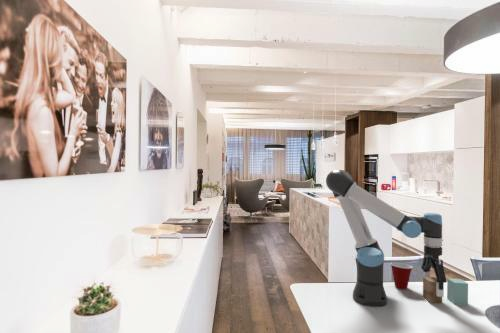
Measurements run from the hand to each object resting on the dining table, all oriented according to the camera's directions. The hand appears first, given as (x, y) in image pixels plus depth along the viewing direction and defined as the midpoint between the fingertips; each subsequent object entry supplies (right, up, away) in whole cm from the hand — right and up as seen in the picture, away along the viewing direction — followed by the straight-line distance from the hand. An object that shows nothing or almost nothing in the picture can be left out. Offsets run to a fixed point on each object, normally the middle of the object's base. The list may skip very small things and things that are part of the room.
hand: (433, 290), depth 145 cm
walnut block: (0, -5, 0) cm, 5 cm away
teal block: (+11, -5, -1) cm, 12 cm away
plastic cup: (-7, -5, +16) cm, 18 cm away
